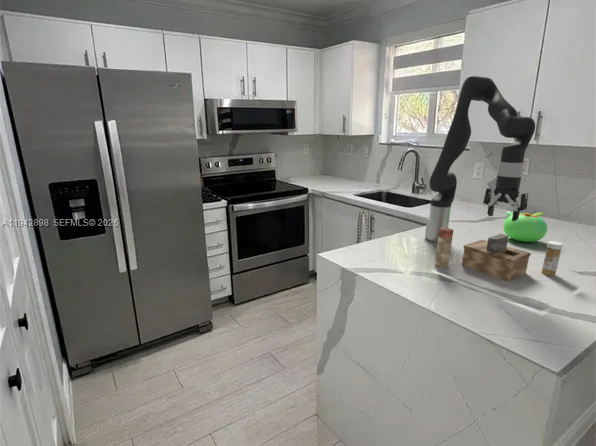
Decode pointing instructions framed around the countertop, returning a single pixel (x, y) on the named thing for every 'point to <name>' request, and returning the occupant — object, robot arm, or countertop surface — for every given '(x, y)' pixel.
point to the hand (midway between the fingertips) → (501, 218)
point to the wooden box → (494, 265)
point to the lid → (497, 249)
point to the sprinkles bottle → (551, 258)
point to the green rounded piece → (525, 227)
